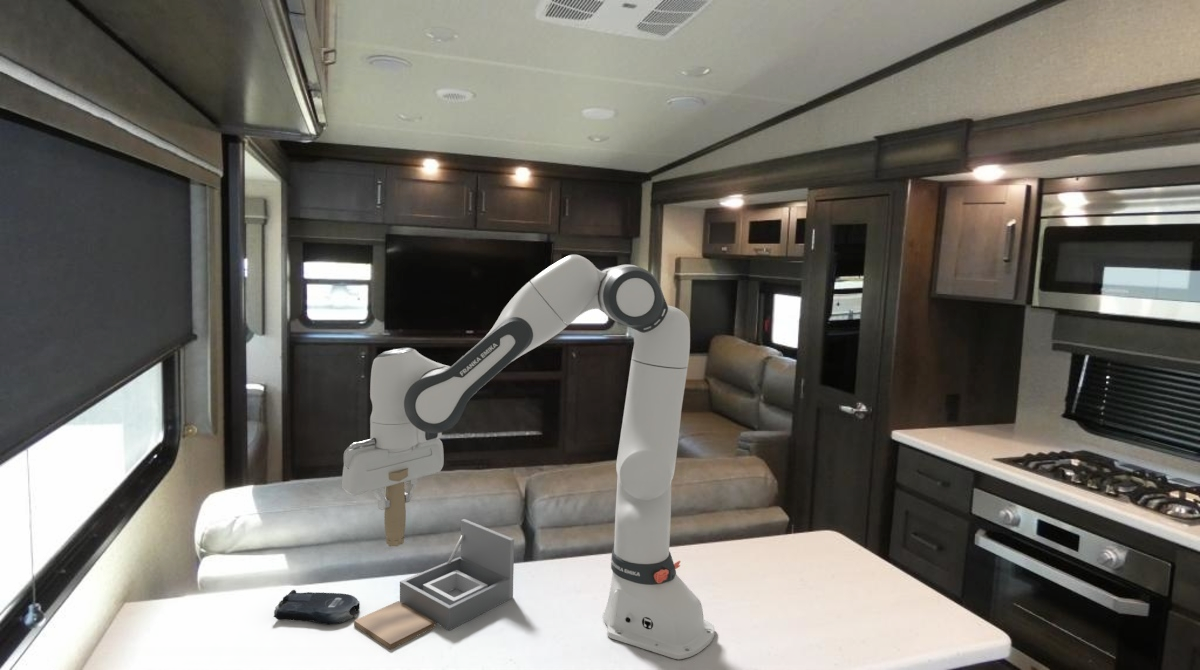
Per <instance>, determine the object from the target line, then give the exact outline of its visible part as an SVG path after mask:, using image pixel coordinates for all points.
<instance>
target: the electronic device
mask: <svg viewBox="0 0 1200 670" xmlns="http://www.w3.org/2000/svg"><path fill="white" fill-rule="evenodd" d="M360 606H361V605H360V600H358V598H357V597H355V596H354V595H352V594H349V593H348V594H346V593H339V592H338V593H337V592H336V593H335V592H311V591H309V592H307V591H306V592H297V590H296V589H292V590H291V591H290V592H289V593H288V594H286V595H285V596H283V597H282V600H279V603H278V604H277V605H276V606H275V609H274V610H273V613H274V614H273V618H275V619H276V620H278V621H279V620H283V621H284V620H286V621H297V622H298V621H301V622H314V623H318V624H325V625H334V624H336V625H337V624H342V623H344V622H347V621H348V620H351V619H352V618H353V617H354V618H356V619H357V615H358V613H359V611H360ZM352 608H354V610H355V613H354V614H353V615H352V614H351V613H350V611H351V609H352Z"/></svg>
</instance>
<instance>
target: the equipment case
mask: <svg viewBox="0 0 1200 670" xmlns="http://www.w3.org/2000/svg"><path fill="white" fill-rule="evenodd" d="M459 548H460V556H457V557H455V556H456V553H457V552H458V550H459ZM514 553H515V539H514V538H513V537H510V536H508V535H505V534H503V533H500V532H497V531H495V530H493V529H490V528H488V527H486V526H483V525H481V524H478V523H476V522H473V521H472V520H468V519H466V518H463V519H461V520H460V538H459V539H458V541H457V543H456V545H455V547H454V549H453V551H452V553H451V555H450V556H449V559H448V561H446V562H444V563H441V564H439V565H436V566H434V567H432V568H430V569H429V568H428V569H426V570H425V571H422V572H419V573H417V574H415V575H412V576H410V577H407V578H405V579H402V580H400V581H399V602H401V603H403V604H405V605H406V606H408V607H410V608H412V609H413V610H415V611H417V612H419V613H420V614H422V615H424V616H425V617H427V618H429V619H431V620H432V621H434V622H435V624H436V625H439V626H440V625H441V626H440V627H443V628H444V629H446V630H448V631H451V630H453V629H455V628H456V627H459V626H461V625H462V624H465V623H466V622H469V621H470V620H473V619H475V618H477V617H478V616H481V614H483V613H486V612H488V611H489V610H492V609H494V608H495V606H496V607H497V606H499V605H501V604H504V603H505V602H507V601H509V600H510V599H513V598H514V567H515V566H514V562H515V554H514ZM454 557H455V558H454ZM453 590H459V591H461V592H463V593H461V594H459V595H457V596H452V595H450V594H448V593H449V592H451V591H453ZM493 607H494V608H493ZM491 608H492V609H491Z"/></svg>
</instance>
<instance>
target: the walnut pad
mask: <svg viewBox="0 0 1200 670" xmlns="http://www.w3.org/2000/svg"><path fill="white" fill-rule="evenodd" d="M353 623H354V624H353V625H354V626H355V627H356V628H357V629H359V630H361V632H364V633H365V634H366V635H368V636H370V637H371V638H373V639H374V640H375V641H377V642H378V643H380V644H382V645H383V646H385V647H386V648H388V649H389V650H392V649H394V648H395V647H398V646H400V645H402V644H404V643H406V642H408V641H410V640H413V639H414V638H416V637H418V636H420V635H423V634H424V633H426V632H428V631H430V630H432V629H435V628H436V623H435V622H434V621H432V620H431V619H429V618H427V617H425V616H424V615H422V614H420V613H419V612H417V611H415V610H413V609H412V608H410V607H408V606H406V605H405V604H403V603H401V602H400V600H398V601H397V600H396V601H395V602H393V603H391V604H388V605H387V606H384V607H382V608H380V609H377V610H375V611H373V612H369V613H368V614H366V615H363V616H362V617H359V618H356V619H355V620H354V621H353ZM425 631H426V632H425ZM423 632H424V633H423ZM419 634H420V635H419ZM417 635H418V636H417ZM399 644H400V645H399Z"/></svg>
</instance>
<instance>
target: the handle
mask: <svg viewBox="0 0 1200 670" xmlns="http://www.w3.org/2000/svg"><path fill="white" fill-rule="evenodd" d="M407 476H408V468H406V469H403V470H399V471H395V472H391V473H389V480H392V481H401V480H402V479H404V478H406V477H407ZM404 489H405V482H401V483H398V484H395V485H391V486H387V487H385V498H387V499H390V504H389V505H390V508H387V509H384V513H383V514H384V532H385V542H386V544H387V545H388V547H398V546H400V545H403V544H404V542H405V536H404V535H405V532H406V520H407V519H406V518H407V515H406V514H407V512H406V511H407V510H406V503H405V490H404Z"/></svg>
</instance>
